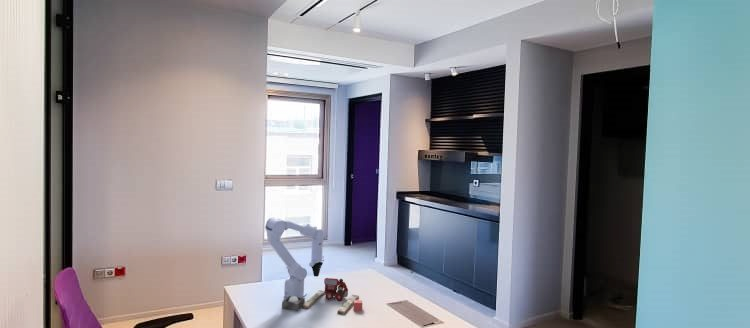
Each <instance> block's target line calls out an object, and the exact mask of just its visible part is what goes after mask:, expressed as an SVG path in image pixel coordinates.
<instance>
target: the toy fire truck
mask: <svg viewBox="0 0 750 328" xmlns="http://www.w3.org/2000/svg"><path fill="white" fill-rule="evenodd" d="M323 283H324V291H325V294H324V296H325V299H326V301H332V300H333V299H334V298H335V300H336V301H337V302H341V301H343V300H344V298H347V297H348V295H349V289H348V286H347V283H346V282H345V281H344V280H343V278H340V279H338V278H333V277H330V278H329V277H325V278H324V281H323Z"/></svg>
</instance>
